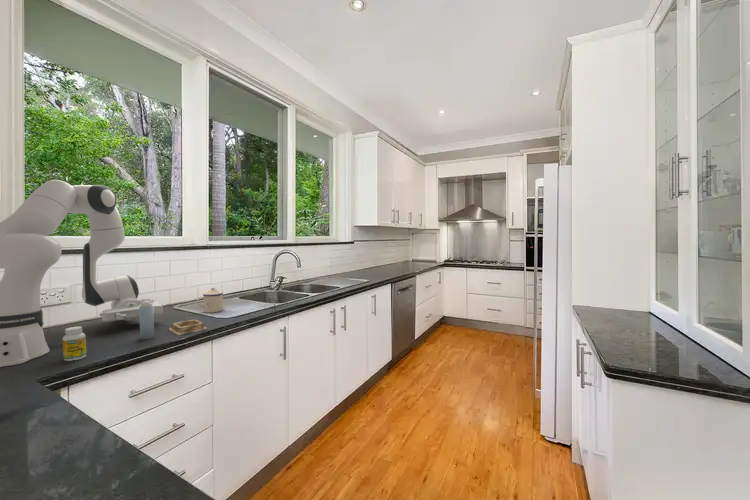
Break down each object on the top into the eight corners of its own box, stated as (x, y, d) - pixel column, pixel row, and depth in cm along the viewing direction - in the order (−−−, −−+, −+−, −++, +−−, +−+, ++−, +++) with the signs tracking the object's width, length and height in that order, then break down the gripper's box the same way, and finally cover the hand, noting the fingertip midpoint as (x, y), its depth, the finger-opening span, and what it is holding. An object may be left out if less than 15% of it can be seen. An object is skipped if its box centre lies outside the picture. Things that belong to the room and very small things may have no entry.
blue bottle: (142, 340, 123) (140, 302, 122) (138, 337, 126) (137, 300, 125) (155, 337, 126) (154, 300, 125) (152, 335, 129) (151, 299, 128)
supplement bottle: (84, 353, 110) (83, 324, 109) (88, 357, 106) (86, 327, 106) (62, 358, 106) (60, 328, 105) (65, 362, 102) (63, 331, 102)
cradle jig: (177, 335, 129) (177, 328, 128) (168, 329, 136) (168, 323, 136) (207, 329, 137) (207, 323, 137) (197, 324, 144) (197, 318, 144)
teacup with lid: (222, 308, 175) (222, 285, 174) (224, 311, 167) (223, 288, 166) (196, 310, 169) (195, 287, 168) (197, 314, 161) (196, 290, 160)
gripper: (97, 306, 135) (104, 311, 126) (156, 298, 150) (166, 303, 141) (98, 321, 136) (105, 328, 126) (157, 312, 151) (167, 318, 141)
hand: (138, 315), depth 134 cm, fingers open, 8 cm apart
